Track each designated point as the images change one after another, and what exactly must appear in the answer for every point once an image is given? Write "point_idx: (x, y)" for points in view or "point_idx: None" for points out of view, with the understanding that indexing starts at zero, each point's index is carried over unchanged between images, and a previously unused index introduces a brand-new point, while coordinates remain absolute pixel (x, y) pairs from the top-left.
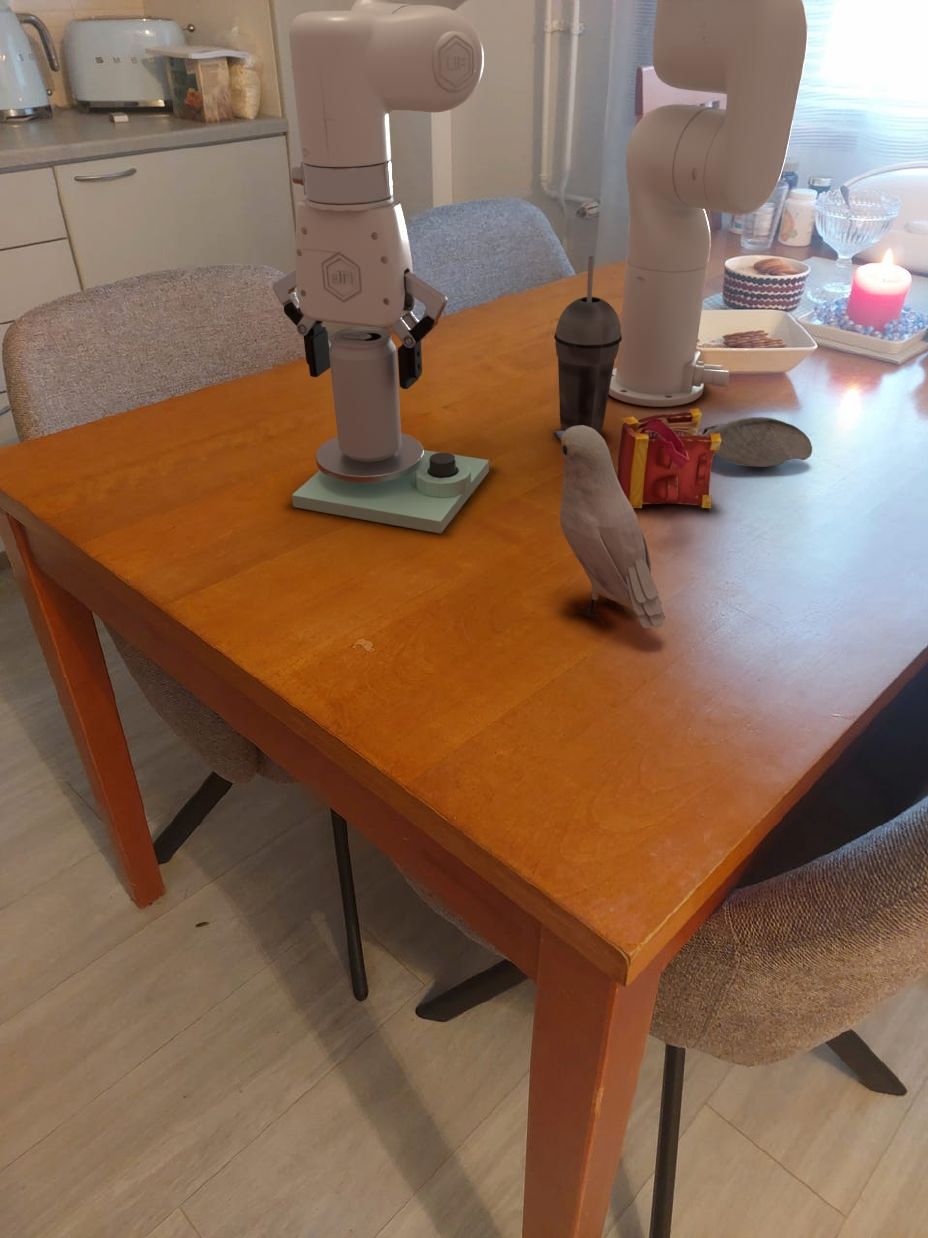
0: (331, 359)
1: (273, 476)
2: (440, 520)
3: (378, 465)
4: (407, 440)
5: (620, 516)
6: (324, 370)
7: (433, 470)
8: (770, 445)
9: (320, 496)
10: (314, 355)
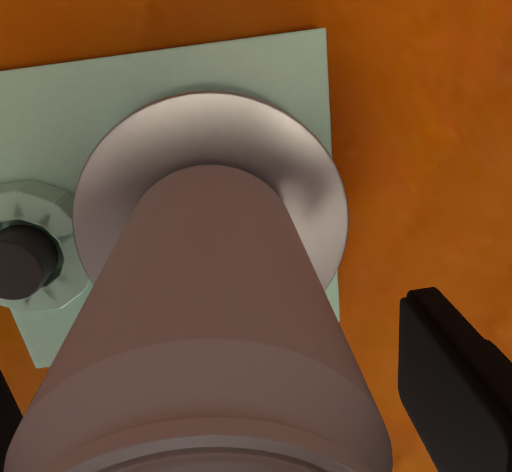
0: (317, 343)
1: (437, 140)
2: None
3: (146, 182)
4: None
5: None
6: (400, 352)
7: (20, 232)
8: None
9: (254, 55)
10: (450, 357)
